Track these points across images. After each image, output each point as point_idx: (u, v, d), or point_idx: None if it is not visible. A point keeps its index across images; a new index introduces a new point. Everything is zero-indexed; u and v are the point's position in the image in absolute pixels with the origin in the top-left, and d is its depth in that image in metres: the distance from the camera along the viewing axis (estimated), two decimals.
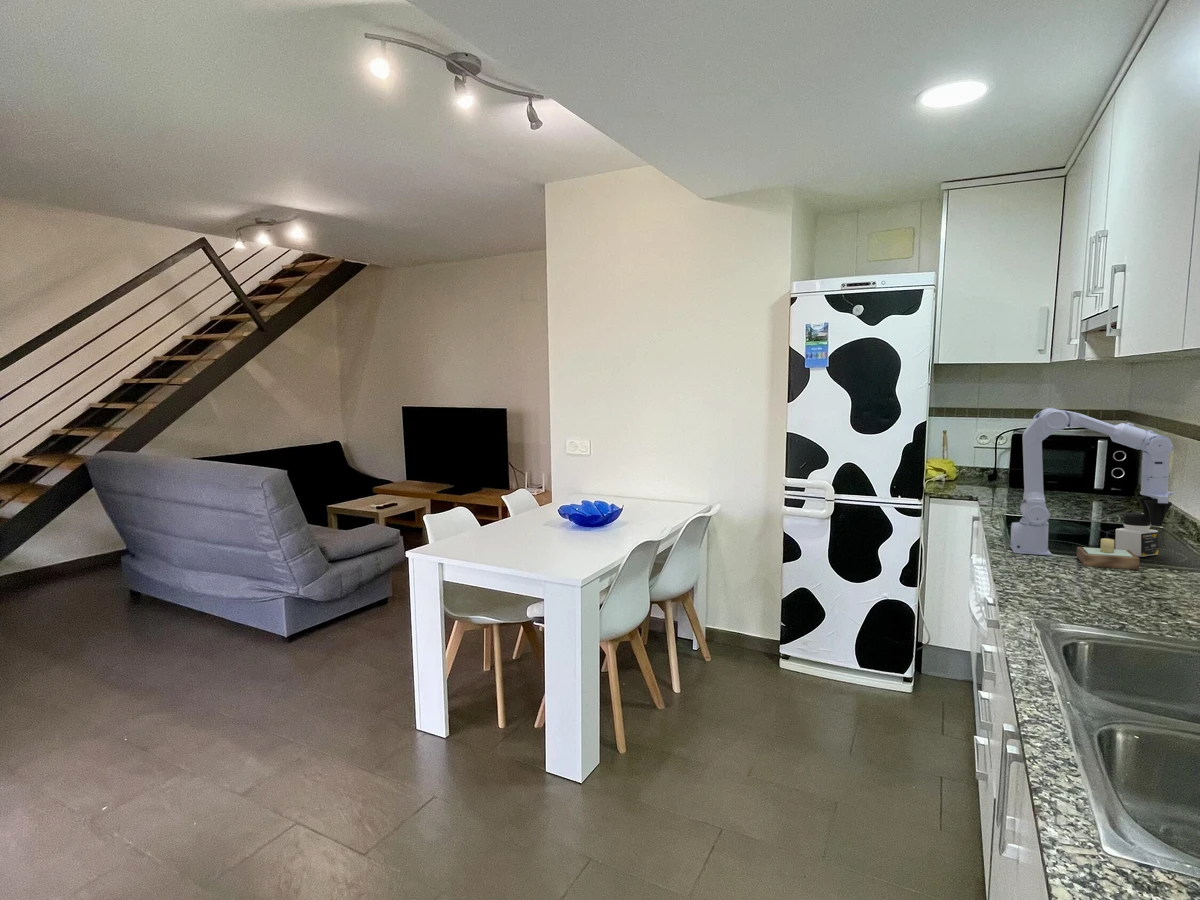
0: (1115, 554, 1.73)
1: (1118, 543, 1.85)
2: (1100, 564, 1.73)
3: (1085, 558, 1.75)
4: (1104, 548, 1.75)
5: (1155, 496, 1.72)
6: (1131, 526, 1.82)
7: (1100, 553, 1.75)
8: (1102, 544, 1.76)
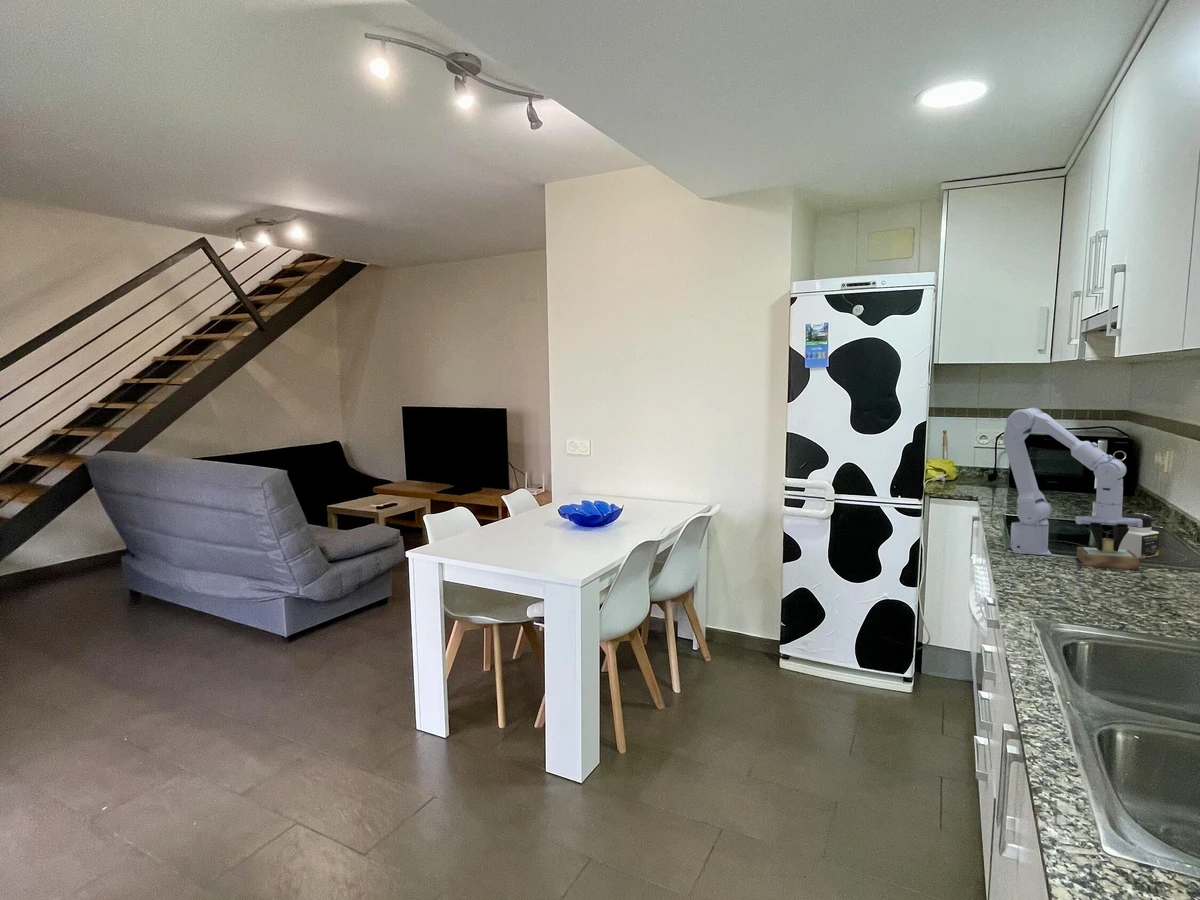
0: (1115, 554, 1.73)
1: None
2: (1100, 564, 1.73)
3: (1085, 558, 1.75)
4: (1104, 548, 1.75)
5: None
6: (1132, 527, 1.81)
7: (1100, 553, 1.75)
8: (1102, 544, 1.76)
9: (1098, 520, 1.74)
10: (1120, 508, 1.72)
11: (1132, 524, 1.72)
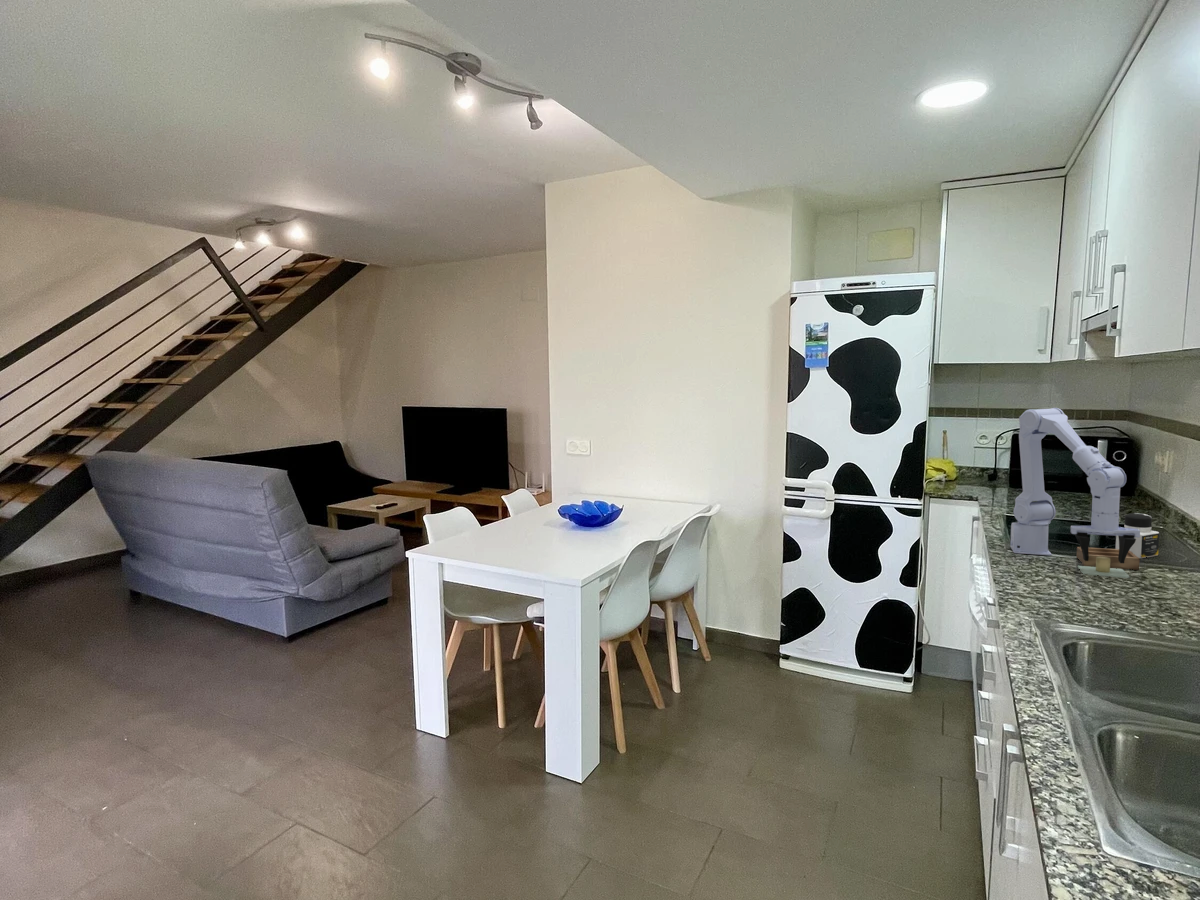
0: (1111, 573, 1.66)
1: (1118, 544, 1.85)
2: None
3: None
4: (1099, 567, 1.68)
5: None
6: (1132, 527, 1.81)
7: (1095, 572, 1.68)
8: (1097, 563, 1.69)
9: (1094, 530, 1.67)
10: (1116, 517, 1.65)
11: (1129, 534, 1.65)
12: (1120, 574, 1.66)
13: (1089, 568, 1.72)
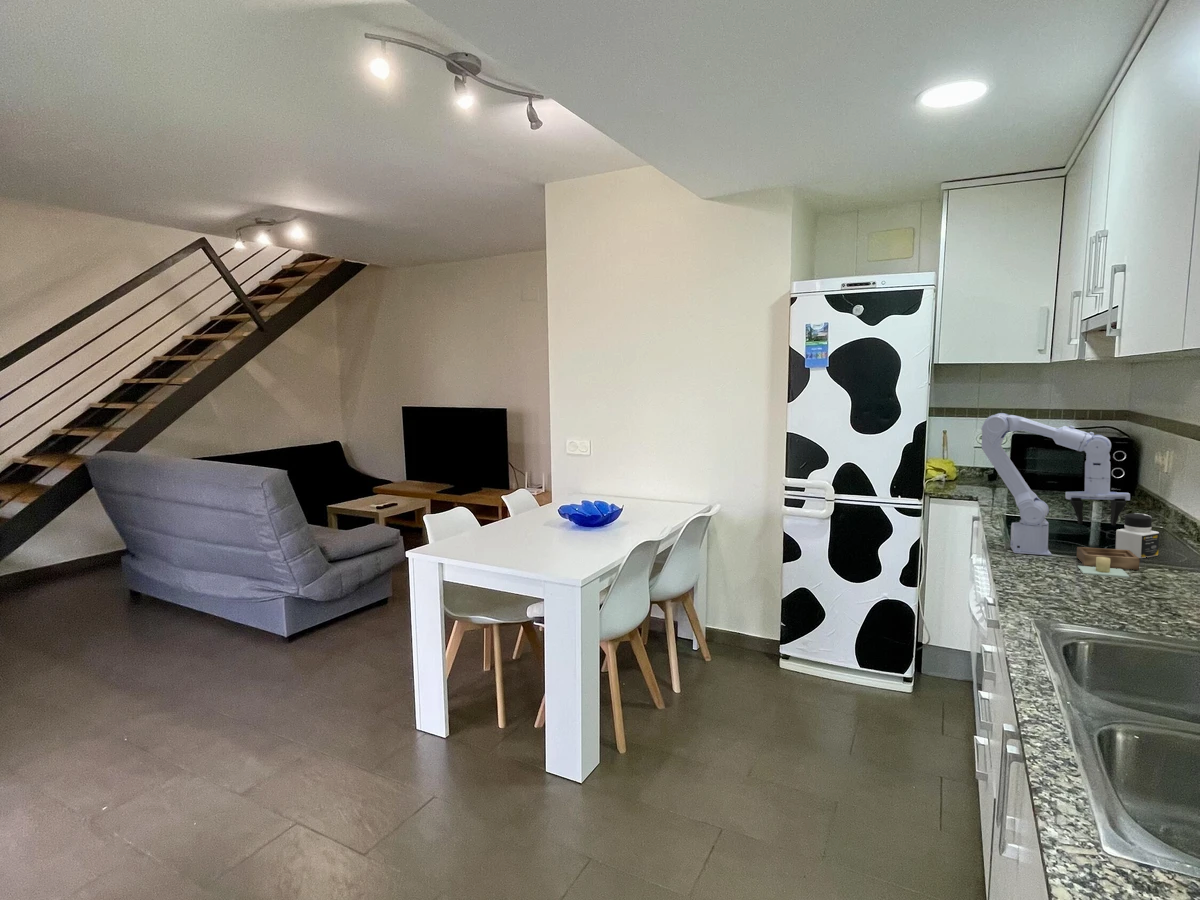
0: (1111, 573, 1.66)
1: (1118, 544, 1.85)
2: None
3: (1085, 558, 1.75)
4: (1099, 567, 1.68)
5: None
6: (1132, 527, 1.81)
7: (1095, 572, 1.68)
8: (1097, 563, 1.69)
9: (1087, 495, 1.78)
10: (1108, 482, 1.76)
11: (1120, 498, 1.76)
12: (1120, 574, 1.66)
13: (1089, 568, 1.72)
